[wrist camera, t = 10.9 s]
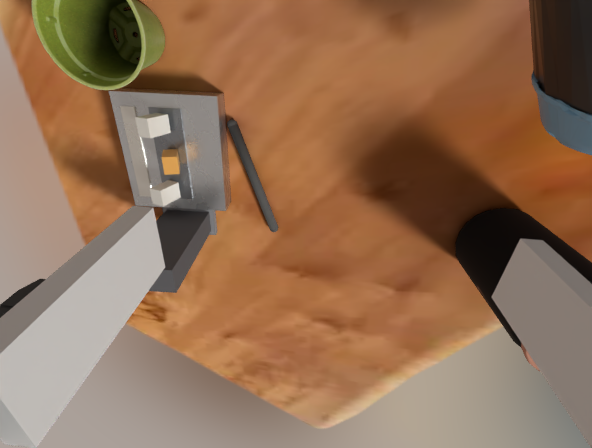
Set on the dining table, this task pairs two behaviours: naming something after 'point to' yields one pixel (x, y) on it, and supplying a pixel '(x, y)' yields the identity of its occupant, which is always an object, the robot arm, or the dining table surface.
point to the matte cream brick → (165, 193)
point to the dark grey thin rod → (252, 174)
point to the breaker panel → (176, 145)
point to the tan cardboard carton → (170, 161)
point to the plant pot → (99, 39)
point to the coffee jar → (506, 253)
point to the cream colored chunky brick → (153, 125)
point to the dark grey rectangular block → (181, 243)
